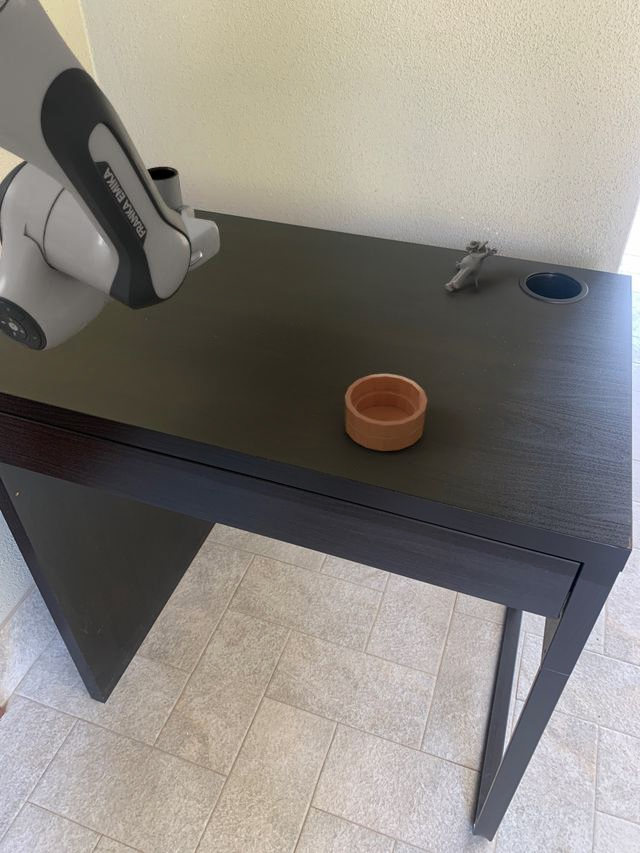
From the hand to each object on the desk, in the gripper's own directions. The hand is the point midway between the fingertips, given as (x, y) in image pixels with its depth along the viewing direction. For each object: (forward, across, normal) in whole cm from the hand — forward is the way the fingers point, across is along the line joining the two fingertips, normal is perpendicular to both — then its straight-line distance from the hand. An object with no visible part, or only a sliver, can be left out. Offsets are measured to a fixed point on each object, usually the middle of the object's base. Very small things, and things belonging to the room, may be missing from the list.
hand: (168, 207), depth 87 cm
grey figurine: (+24, -36, +17) cm, 47 cm away
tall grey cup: (-1, 0, +6) cm, 6 cm away
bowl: (-13, -34, +17) cm, 40 cm away
